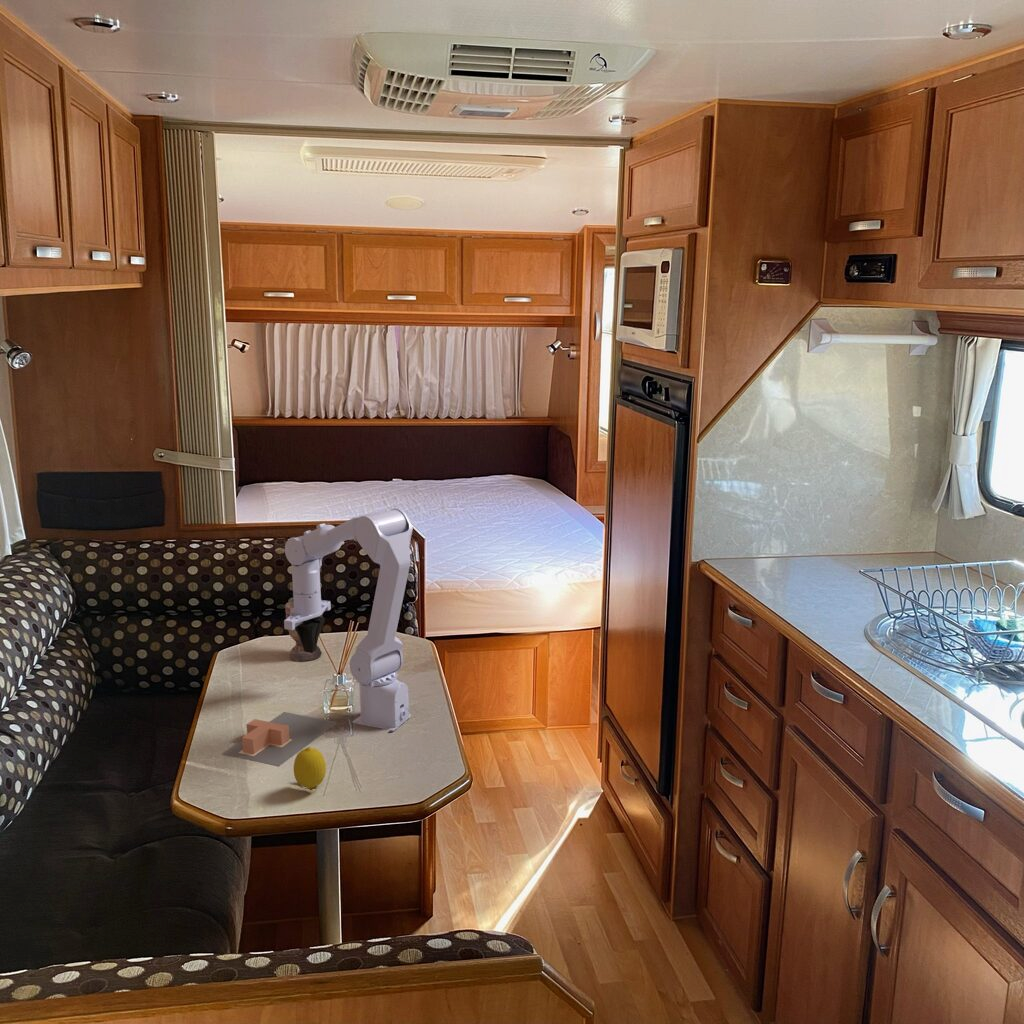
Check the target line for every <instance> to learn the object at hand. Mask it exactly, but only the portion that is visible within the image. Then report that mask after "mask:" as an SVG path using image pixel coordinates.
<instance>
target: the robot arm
mask: <svg viewBox="0 0 1024 1024" xmlns="http://www.w3.org/2000/svg"><path fill="white" fill-rule="evenodd" d="M413 528H414V527H413V524H412V523H411V520H410V519H409V517H408V515H407V514H406V513H405V511H404V510H402V508H401V509H400V508H399V507H396V508H395V507H394V508H391V509H390V510H383V511H378V512H373V513H367V514H364V515H360V516H355V517H352V518H351V519H348V520H346V521H344V522H343V523H341V524H339V525H337V526H334V525H332V524H326V523H320V524H317V525H316V529H314V530H306V531H304V532H303V535H301V536H297V537H290V538H289V539H288V540H287V541H286V542H285V545H284V554H285V557H286V559H287V561H288V562H289V563H290V564H291V576H292V597H293V601H294V608H292V609H290V612H291V615H290V616H289V617H288V618H287V619H286V618H285V619H284V620H283V624H284V625H283V628H284V630H287V631H288V630H294V629H295V630H296V632H297V633H298V635H299V637H300V640H301V643H302V646H303V649H304V652H309V653H313V652H314V651H316V647H317V646H318V641H319V636H320V635H319V633H320V631H322V628H323V626H324V624H325V621H326V620H325V617H319V616H320V615H322V616H323V614H324V612H328V611H330V610H331V609H332V607H331V600H323V599H322V594H321V593H322V592H321V589H322V588H321V574H320V572H321V571H320V569H321V568H322V565H323V564H322V563H323V559H324V557H325V556H327V555H330V554H333V553H335V552H338V550H340V548H341V546H342V545H343V542H344V541H348V540H350V539H353V541H355V542H357V543H358V544H359V545H360V547H361V548H362V549H363V551H364V552H365V553H366V555H368V557H369V558H370V559H371V561H373V563H375V564H378V565H379V572H378V576H377V583H376V588H375V593H374V599H373V602H372V603H373V604H372V609H371V613H370V618H369V624H368V629H367V634H366V635H365V637H364V638H363V639H362V640H361V641H360V642H359V643H358V644H357V645H356V647H355V648H356V649H355V651H354V654H353V655H352V656H351V658H350V660H349V671H350V673H351V675H352V677H353V678H354V680H355V682H356V683H358V684H359V703H360V704H359V708H360V709H359V710H360V715H359V716H358V717H356V718H355V719H354V720H352V723H353V724H359V725H363V726H368V727H373V728H380V729H384V730H389V732H395V731H396V730H397V729H398V728H400V727H401V725H402V724H404V723H405V722H406V721H407V720H409V718H411V717H412V714H411V713H410V700H409V699H410V693H409V687H408V685H407V684H406V683H405V682H402V681H400V680H398V679H397V677H398V676H399V673H398V671H400V670H401V669H402V667H403V665H404V657H403V656H404V655H403V646H404V644H403V642H402V641H401V640H400V639H399V638H398V637H397V636H396V633H397V629H398V624H399V620H400V615H401V610H402V606H403V600H404V597H405V591H406V588H407V587H406V585H407V581H408V577H409V572H410V568H411V567H410V566H411V554H410V553H411V552H410V545H411V539H412V535H413V531H414V530H413ZM320 634H321V633H320Z"/></svg>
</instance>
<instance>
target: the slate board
mask: <svg viewBox="0 0 1024 1024" xmlns="http://www.w3.org/2000/svg"><path fill="white" fill-rule="evenodd" d="M269 722H272V723H277V724H282V725H287V726H289V738H290V740H289V741H288V742H286V743H285V744H284V745H277V744H272V743H269V744H268V745H267V746H265V747H264V748H262V749H261V750H259V751H258V752H257V753H255V754H250V753H245V752H243V745H242V739H241V740H239V742H237V743H235V744H234V745H232V746H231V747H229V748H228V749H226V750H225V751H223V752H222V753H221V755H225V756H228V757H233V758H239V759H243V760H248V761H252V762H258V763H263V764H266V765H270V766H276V767H280V766H282V765H284V763H286V762H287V761H288V760H290V759H291V758H293V756H295V755H297V754H298V753H299V752H300V751H302V750H303V749H305V748H307V747H308V745H310V744H311V743H312V742H314V741H316V739H318V738H319V737H321V736H322V735H323V734H324V733H326V732H327V731H329V730H330V729H331V728H333V727H334V726H336V725H337V724H338V723H339V722H338V721H335V720H328V719H323V718H319V717H314V716H308V715H302V714H297V713H291V712H287V711H282V713H280V714H279V715H277V716H276V717H273V718H272V719H271V720H269Z"/></svg>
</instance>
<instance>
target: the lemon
mask: <svg viewBox="0 0 1024 1024" xmlns="http://www.w3.org/2000/svg"><path fill="white" fill-rule="evenodd" d="M293 763H294V764H293V775H294V778H295V781H296V782H297V784H298V785H300V786H301V787H303V788H306V789H308V790H311V791H312V790H313V789H314V788H316V787H317V786H319V785H320V784H321V783H322V782H323V781H324V779H325V777H326V772H327V765H326V764H327V763H326V760H325V758H324V755H323V754H322V752H321V751H320V750H318V749H316V748H314V747H310V746H306V747H305V748H303V749H302V750H300V751H299V752H298V753H296V756H295V759H294V762H293Z"/></svg>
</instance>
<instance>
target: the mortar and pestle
mask: <svg viewBox="0 0 1024 1024" xmlns="http://www.w3.org/2000/svg"><path fill="white" fill-rule="evenodd" d="M284 605H285V606H284V608H285V609H284V610H285V620H286V619H287V618H288V617H289V616H290V615H291V612H290V609H292V608H294V600H289V601H288V602H286V603H285V604H284ZM319 617H323V614H322V615H320V616H319ZM287 631H288V633H289V636H290V638H292V640H293V641H294V642H295V645H294V647H292V648H291V650H290V652H289V656H290V659H292V660H294V661H296V662H305V661H311V660H316V659H318V658H320V657H321V656H322V650H321V647H319V645H317V647H316V651H314V652H313V653H309V652H304V649H303V646H302V643H301V640H300V637H299V635H298V633H297V632H296V630H295V629H294V630H287ZM321 631H322V630H321ZM321 631H320V633H319V636H320V635H321V633H322V632H321Z"/></svg>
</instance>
